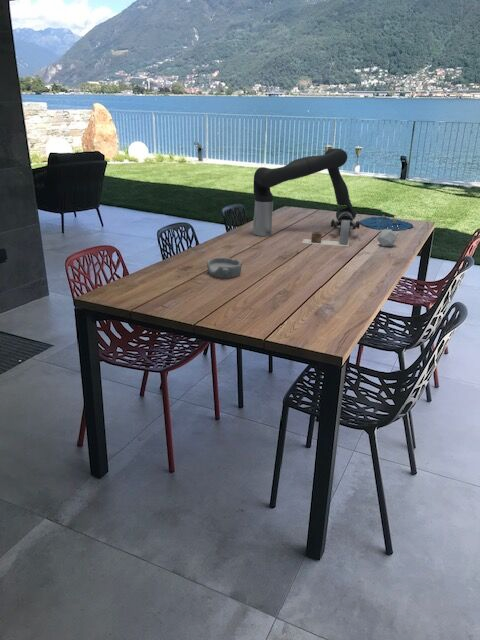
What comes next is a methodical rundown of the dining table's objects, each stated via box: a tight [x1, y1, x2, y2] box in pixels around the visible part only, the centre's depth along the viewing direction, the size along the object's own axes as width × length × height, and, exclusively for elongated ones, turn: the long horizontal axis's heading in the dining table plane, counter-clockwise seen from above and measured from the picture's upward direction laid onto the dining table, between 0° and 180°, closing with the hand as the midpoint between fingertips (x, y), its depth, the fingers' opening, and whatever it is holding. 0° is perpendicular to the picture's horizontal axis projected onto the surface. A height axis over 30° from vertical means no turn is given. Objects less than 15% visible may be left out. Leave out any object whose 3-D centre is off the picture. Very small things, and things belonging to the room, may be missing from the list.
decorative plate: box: [359, 214, 414, 231], centre depth 304 cm, size 30×30×5 cm
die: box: [376, 229, 398, 247], centre depth 259 cm, size 8×9×10 cm
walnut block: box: [311, 231, 323, 243], centre depth 256 cm, size 4×4×4 cm
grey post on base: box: [301, 220, 350, 247], centre depth 255 cm, size 22×8×12 cm, turn 79°
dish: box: [206, 257, 243, 279], centre depth 211 cm, size 14×14×5 cm
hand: (345, 227), depth 262 cm, fingers open, 8 cm apart
